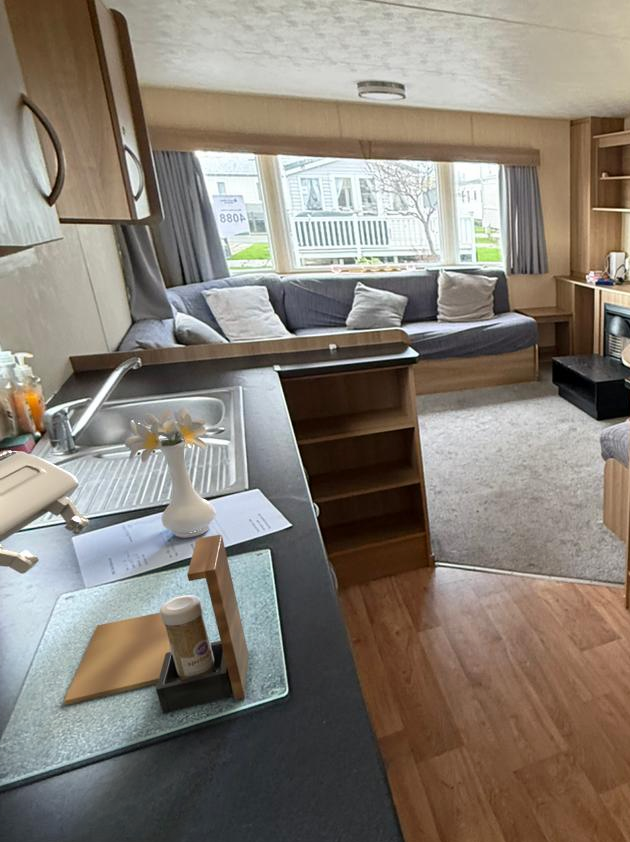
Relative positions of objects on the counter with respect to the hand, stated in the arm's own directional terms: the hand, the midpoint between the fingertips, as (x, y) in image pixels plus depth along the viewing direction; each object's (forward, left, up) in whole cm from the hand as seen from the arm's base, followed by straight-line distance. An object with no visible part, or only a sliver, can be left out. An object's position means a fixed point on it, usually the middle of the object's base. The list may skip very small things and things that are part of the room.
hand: (59, 546), depth 80 cm
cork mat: (+2, +8, -22) cm, 24 cm away
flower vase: (+5, +49, -23) cm, 54 cm away
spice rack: (+12, -4, -22) cm, 26 cm away
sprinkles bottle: (+12, -4, -23) cm, 26 cm away
